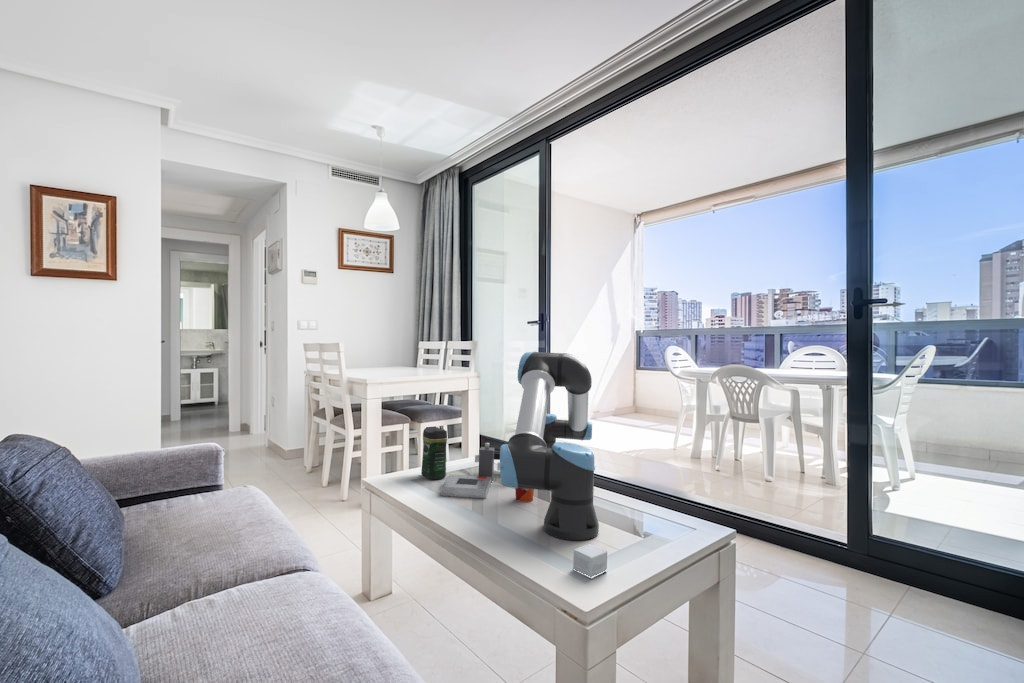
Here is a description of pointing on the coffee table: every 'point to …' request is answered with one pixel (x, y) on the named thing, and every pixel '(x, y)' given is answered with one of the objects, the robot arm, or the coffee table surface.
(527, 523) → the coffee table surface
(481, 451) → the plug
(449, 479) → the socket plate
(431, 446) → the coffee jar
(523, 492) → the paper cup
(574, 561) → the small box
